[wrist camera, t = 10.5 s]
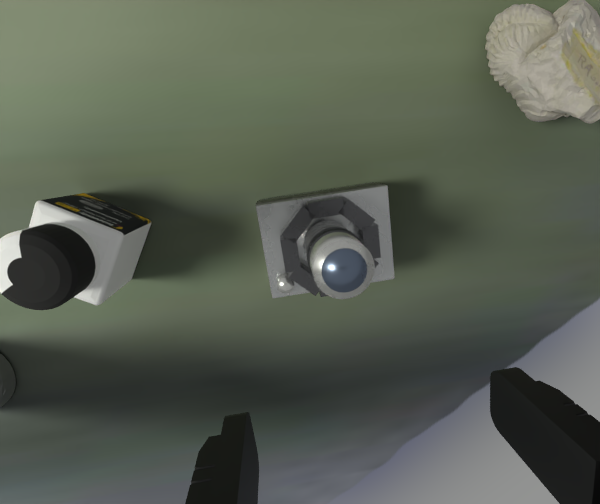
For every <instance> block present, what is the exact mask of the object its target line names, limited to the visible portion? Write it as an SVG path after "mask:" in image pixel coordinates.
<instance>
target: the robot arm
mask: <svg viewBox="0 0 600 504" xmlns="http://www.w3.org/2000/svg"><path fill="white" fill-rule="evenodd" d="M15 386H16V377H15V374H14V371H13V368H12V367H11V365H10V363H9V362H8V361H7V359H6V358H5V357H4V356H3V355H2V354H1V353H0V408H1V407H2V406H3V405H4V404H5V403H6V402H7V401H8V400H9V399H10V398H11V397H12V395H13V393H14V390H15ZM490 412H491V417H492V420H493V422H494V424H495V427H496V428H497V430H498V431H499V432H500V434H501V435H502V436H503V437H504V438H505V440H506V441H507V442H508V443H509V444H510V446H511V447H512V448H513V449H514V450H515V451H516V453H517V454H518V455H519V456H520V457H521V458H522V460H523V461H524V462H525V463H526V464H527V466H528V467H529V468H530V469H531V470H532V471H533V473H534V474H535V475H536V476H537V477H538V478H539V480H540V481H541V482H542V483H543V484H544V486H545V487H546V488H547V489H548V490H549V492H550V493H551V494H552V495H553V496H554V497H555V498H556V500H557V501H558V502H559V503H560V504H600V422H599V421H598V420H596V419H595V418H594V417H593V416H591V415H588V413H587V412H586V411H585V410H584V409H583V408H581V407H580V406H579V405H575V403H574V401H572V400H571V399H570V398H568V397H567V396H566V395H565V394H563V393H562V392H561V391H560V390H558V389H556V388H554V387H552V386H550V385H547V384H545V383H543V382H541V381H534V380H533V379H532V378H531V377H529V376H528V375H527V374H526V373H525V372H524V371H522V370H521V369H519V368H516V367H515V368H509V369H503V370H497V371H493V372H492V373H491V377H490ZM258 482H259V461H258V453H257V447H256V442H255V438H254V433H253V428H252V423H251V418H250V415H249V413H248V412H246V413H240V414H234V415H229V416H225V418H224V422H223V427H222V432H221V435H217V436H211V437H209V438H208V439H207V441H206V442H205V444H204V445H203V447H202V448H201V449H200V451H199V453H198V457H197V461H196V465H195V471H194V473H193V476H192V480H191V485H190V488H189V492H188V496H187V499H186V503H185V504H257V503H258Z"/></svg>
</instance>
